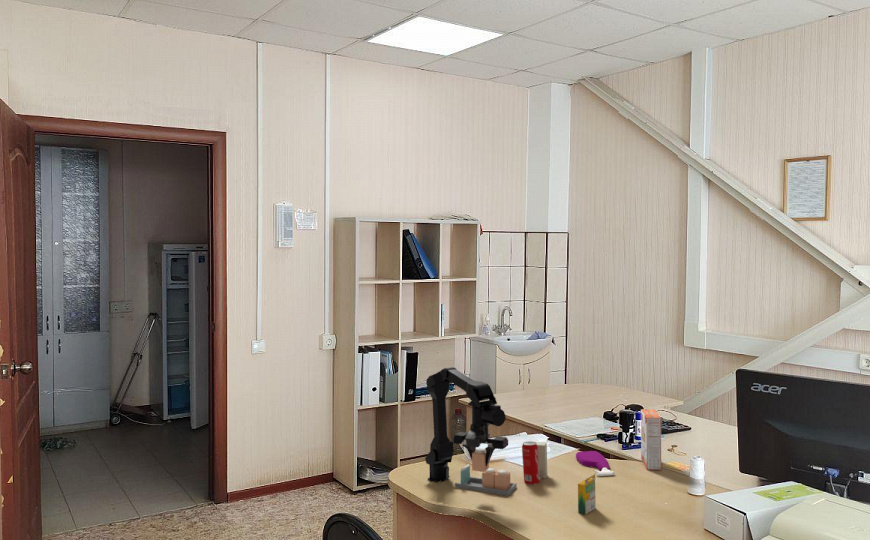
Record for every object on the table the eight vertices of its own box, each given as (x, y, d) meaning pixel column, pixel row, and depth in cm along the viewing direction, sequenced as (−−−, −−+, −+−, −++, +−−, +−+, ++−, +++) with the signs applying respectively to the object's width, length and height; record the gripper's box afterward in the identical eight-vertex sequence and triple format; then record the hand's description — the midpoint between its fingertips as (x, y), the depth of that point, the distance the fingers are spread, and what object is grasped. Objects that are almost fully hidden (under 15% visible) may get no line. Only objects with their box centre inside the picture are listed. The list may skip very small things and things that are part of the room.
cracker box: (640, 459, 284) (640, 408, 284) (655, 459, 284) (655, 409, 283) (645, 470, 271) (645, 417, 270) (661, 470, 270) (661, 417, 269)
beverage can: (539, 486, 253) (539, 445, 253) (521, 485, 255) (521, 444, 254) (540, 480, 259) (540, 441, 259) (522, 479, 261) (522, 440, 260)
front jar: (494, 491, 248) (494, 472, 247) (498, 487, 251) (498, 468, 251) (506, 492, 246) (506, 473, 245) (510, 488, 250) (510, 470, 249)
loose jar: (472, 470, 240) (472, 450, 240) (477, 466, 244) (476, 447, 244) (484, 472, 238) (483, 452, 238) (488, 468, 242) (488, 448, 242)
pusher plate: (460, 484, 252) (460, 468, 252) (467, 479, 258) (467, 463, 258) (463, 485, 252) (463, 469, 251) (470, 479, 257) (469, 464, 257)
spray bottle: (598, 457, 289) (621, 477, 264) (573, 458, 288) (593, 479, 263) (598, 450, 289) (621, 470, 264) (573, 451, 287) (593, 471, 263)
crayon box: (587, 506, 234) (587, 472, 233) (596, 508, 232) (595, 474, 231) (577, 512, 228) (577, 477, 228) (585, 515, 226) (585, 479, 226)
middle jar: (482, 489, 250) (482, 470, 249) (486, 485, 254) (486, 466, 253) (493, 490, 248) (493, 472, 247) (498, 487, 252) (497, 468, 251)
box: (547, 475, 265) (547, 442, 265) (545, 479, 261) (545, 445, 260) (534, 474, 267) (533, 441, 266) (531, 478, 263) (531, 444, 262)
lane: (455, 488, 252) (455, 483, 252) (464, 481, 260) (464, 475, 260) (508, 496, 243) (508, 491, 243) (516, 488, 251) (516, 483, 251)
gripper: (446, 423, 237) (446, 468, 238) (497, 428, 229) (497, 475, 230) (459, 415, 247) (459, 459, 248) (508, 420, 239) (508, 465, 240)
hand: (480, 464), depth 241 cm, fingers closed on loose jar, 4 cm apart
